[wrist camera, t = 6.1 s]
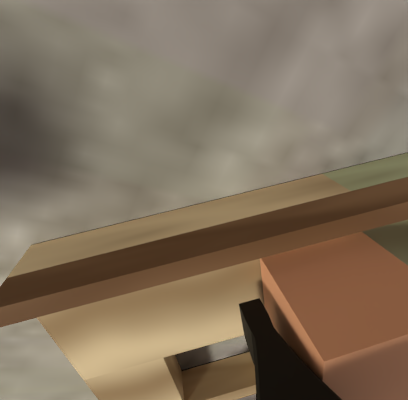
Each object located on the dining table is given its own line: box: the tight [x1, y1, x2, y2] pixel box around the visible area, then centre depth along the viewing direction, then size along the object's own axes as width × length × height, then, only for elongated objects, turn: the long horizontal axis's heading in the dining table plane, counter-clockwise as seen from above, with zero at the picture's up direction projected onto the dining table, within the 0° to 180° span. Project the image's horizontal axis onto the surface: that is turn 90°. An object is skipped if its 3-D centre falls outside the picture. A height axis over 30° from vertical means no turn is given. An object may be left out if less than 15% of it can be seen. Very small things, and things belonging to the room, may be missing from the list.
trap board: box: [0, 153, 408, 400], centre depth 13 cm, size 13×20×4 cm, turn 101°
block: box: [260, 232, 408, 400], centre depth 10 cm, size 4×4×4 cm
